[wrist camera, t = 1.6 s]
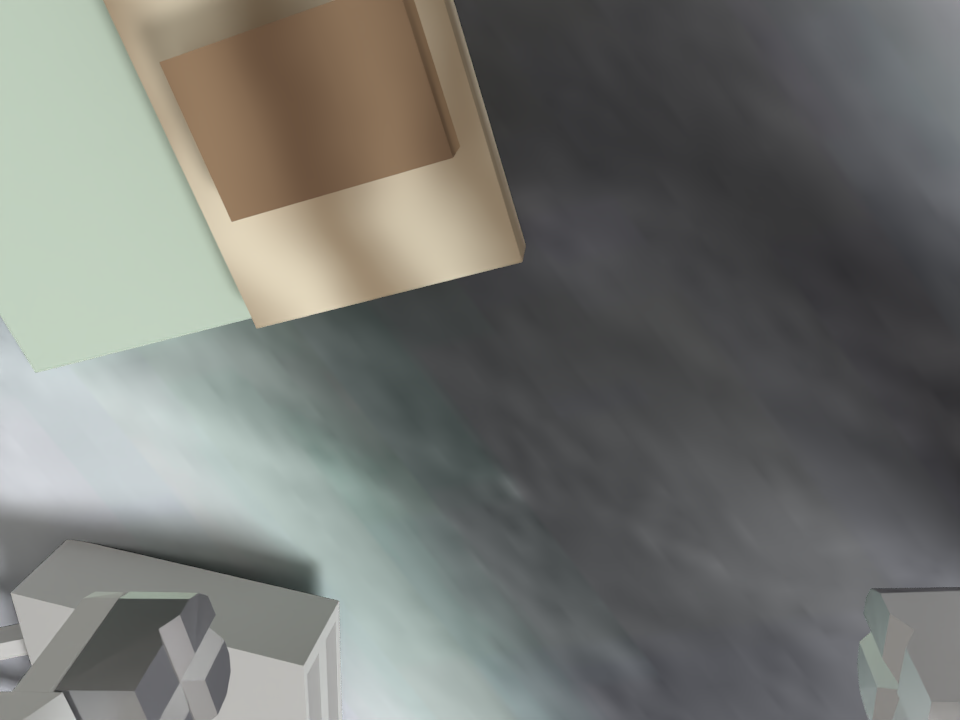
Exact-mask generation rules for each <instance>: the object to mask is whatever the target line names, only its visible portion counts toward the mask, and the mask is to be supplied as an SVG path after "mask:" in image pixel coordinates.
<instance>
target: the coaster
mask: <svg viewBox="0 0 960 720" xmlns="http://www.w3.org/2000/svg"><path fill="white" fill-rule="evenodd" d="M159 63H160V65H161V68H162V70H163V72H164V74H165V76H166V79H167V81H168V83H169V85H170V87H171V90H172V92H173V94H174V96H175V98H176V101H177V103H178V105H179V107H180V109H181V112H182V114H183V116H184V118H185V120H186V123H187V125H188V127H189V129H190V131H191V134H192V136H193V138H194V140H195V142H196V145H197V147H198V149H199V151H200V153H201V156H202V158H203V160H204V162H205V164H206V167H207V169H208V171H209V173H210V175H211V178H212V180H213V182H214V184H215V186H216V189H217V191H218V193H219V195H220V197H221V200H222V202H223V204H224V206H225V208H226V211H227V213H228V215H229V217H230V219H231V222H233V221H237V220H240V219H244V218H247V217H251V216H254V215H258V214H261V213H264V212H268V211H271V210H275V209H278V208H282V207H285V206H289V205H292V204H296V203H299V202H302V201H306V200H309V199H313V198H316V197H320V196H323V195H327V194H330V193H334V192H337V191H340V190H344V189H347V188H351V187H354V186H358V185H361V184H365V183H368V182H372V181H375V180H378V179H382V178H385V177H389V176H392V175H396V174H399V173H403V172H406V171H410V170H413V169H416V168H420V167H423V166H427V165H430V164H434V163H437V162H441V161H444V160H448V159H451V158H453V157H454V156H455V154H456V152H457V151H458V149H459V148H460V144H459V141H458V138H457V135H456V132H455V129H454V125H453V122H452V119H451V116H450V113H449V109H448V106H447V103H446V100H445V97H444V94H443V90H442V87H441V84H440V81H439V78H438V74H437V71H436V68H435V65H434V62H433V59H432V55H431V52H430V49H429V46H428V43H427V39H426V36H425V33H424V30H423V27H422V24H421V20H420V17H419V14H418V11H417V8H416V4H415V1H414V0H334V1H331V2H328V3H325V4H323V5H320V6H317V7H314V8H311V9H308V10H306V11H303V12H300V13H297V14H294V15H291V16H289V17H286V18H283V19H280V20H277V21H274V22H272V23H269V24H266V25H263V26H260V27H257V28H255V29H252V30H249V31H246V32H243V33H241V34H238V35H235V36H232V37H229V38H226V39H224V40H221V41H218V42H215V43H212V44H209V45H207V46H204V47H201V48H198V49H195V50H192V51H190V52H187V53H184V54H181V55H178V56H175V57H173V58H170V59H167V60H164V61H161V62H159Z"/></svg>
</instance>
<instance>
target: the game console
mask: <svg viewBox="0 0 960 720" xmlns="http://www.w3.org/2000/svg"><path fill="white" fill-rule="evenodd" d="M130 591H132V592H181V593H200V594H204V595H207V596H208V597H209V599H210V602H211V604H212V607H213V609H214V612H215V614H216V615H215V617H214V619H213V621H212V623H211V625H210V627H209V628H211V629H212V630H213V631H214V632H216V633H217V634H218V635H219V636H220V637H222V638H223V639H224V640H225V643H226V646H227V649H228V652H229V656H230V668H231V673H230V679H229V684H228V690H227V695H226V697H225V700H224V702H223V704H222V707H221V709H220V711H219V713H218V715H217V716H216V717H215V718H213V719H212V720H342V694H341V656H340V618H339V601H338V600H334V599H329V598H325V597H321V596H316V595H312V594H308V593H303V592H299V591H295V590H290V589H286V588H282V587H278V586H273V585H269V584H265V583H260V582H256V581H252V580H247V579H243V578H239V577H235V576H230V575H226V574H222V573H217V572H213V571H209V570H204V569H200V568H196V567H191V566H187V565H183V564H179V563H174V562H170V561H166V560H161V559H157V558H153V557H148V556H144V555H140V554H136V553H131V552H127V551H123V550H118V549H114V548H110V547H105V546H101V545H97V544H92V543H88V542H83V541H76V540H68V539H67V540H66V541H65V542H64V543H63V544H62V545H61V546H60V547H59V548H57V549H56V550H55V551H54V552H53V553H52V554H51V555H50V556H49V557H48V558H47V559H46V560H45V561H44V562H43V563H41V564H40V565H39V566H38V567H37V568H36V569H35V570H34V571H33V572H32V573H31V574H30V575H29V576H28V577H27V578H26V579H24V580H23V581H22V582H21V583H20V584H19V585H18V586H17V587H16V588H15V589H14V590H13V591H12V592H11V597H12V600H13V604H14V607H15V611H16V614H17V617H18V621H19V624H15V625H10V626H5V627H0V660H5V659H10V658H14V657H19V656H24V655H29V659H30V662H31V666H32V665H33V664H34V662H35V661H36V660H37V658H38V657H39V656H40V654H41V653H42V652H43V650H44V649H45V648H46V646H47V645H48V644H49V643H50V641H51V640H52V639H53V637H54V636H55V635H56V633H57V632H58V631H59V629H60V628H61V627H62V626H63V624H64V623H65V622H66V620H67V619H68V618H69V616H70V615H71V614H72V612H73V611H74V610H75V609H76V607H77V606H78V605H79V603H80V602H81V601H82V599H83V598H85V597H86V596H88V595H90V594H92V593H94V592H130Z"/></svg>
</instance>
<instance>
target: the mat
mask: <svg viewBox="0 0 960 720" xmlns="http://www.w3.org/2000/svg"><path fill="white" fill-rule="evenodd" d="M0 316H1V317H2V319H3V321H4V322H5V324H6V325H7V327H8V329H9V330H10V332H11V334H12V335H13V337H14V339H15V340H16V342H17V343H18V345H19V347H20V348H21V350H22V352H23V353H24V355H25V356H26V358H27V360H28V361H29V363H30V365H31V366H32V368H33V369H34V371H35V373H37V372H41V371H45V370H49V369H53V368H57V367H61V366H65V365H69V364H73V363H77V362H81V361H85V360H89V359H93V358H96V357H100V356H104V355H108V354H112V353H116V352H120V351H124V350H128V349H132V348H136V347H140V346H144V345H148V344H152V343H155V342H159V341H163V340H167V339H171V338H175V337H179V336H183V335H187V334H191V333H195V332H199V331H203V330H207V329H210V328H214V327H218V326H222V325H226V324H230V323H234V322H238V321H242V320H246V319H250V318H252V317H251V315H250V313H249V311H248V309H247V307H246V304H245V302H244V300H243V298H242V296H241V294H240V292H239V290H238V287H237V285H236V283H235V281H234V279H233V277H232V275H231V272H230V270H229V268H228V266H227V264H226V262H225V260H224V257H223V255H222V253H221V251H220V249H219V247H218V245H217V243H216V240H215V238H214V236H213V234H212V232H211V230H210V228H209V225H208V223H207V221H206V219H205V217H204V215H203V213H202V210H201V208H200V206H199V204H198V202H197V200H196V198H195V196H194V193H193V191H192V189H191V187H190V185H189V183H188V181H187V178H186V176H185V174H184V172H183V170H182V168H181V166H180V164H179V161H178V159H177V157H176V155H175V153H174V151H173V149H172V146H171V144H170V142H169V140H168V138H167V136H166V134H165V131H164V129H163V127H162V125H161V123H160V121H159V119H158V117H157V114H156V112H155V110H154V108H153V106H152V104H151V102H150V99H149V97H148V95H147V93H146V91H145V89H144V87H143V84H142V82H141V80H140V78H139V76H138V74H137V72H136V70H135V67H134V65H133V63H132V61H131V59H130V57H129V55H128V52H127V50H126V48H125V46H124V44H123V42H122V40H121V37H120V35H119V33H118V31H117V29H116V27H115V25H114V23H113V20H112V18H111V16H110V14H109V12H108V10H107V8H106V5H105V3H104V1H103V0H0Z"/></svg>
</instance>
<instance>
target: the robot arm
mask: <svg viewBox="0 0 960 720" xmlns="http://www.w3.org/2000/svg"><path fill="white" fill-rule="evenodd" d="M215 615H216V614H215V612H214V609H213V607H212V604H211V602H210V599H209V597H208V596H207V595H204V594H200V593H181V592H132V591H130V592H94V593H92V594H90V595H88V596H86V597H85V598H83V599H82V601H81V602H80V603H79V605H78V606H77V607H76V609H75V610H74V611H73V612H72V614H71V615H70V616H69V618H68V619H67V620H66V622H65V623H64V624H63V626H62V627H61V628H60V629H59V631H58V632H57V633H56V635H55V636H54V637H53V639H52V640H51V641H50V643H49V644H48V645H47V646H46V648H45V649H44V650H43V652H42V653H41V654H40V656H39V657H38V658H37V660H36V661H35V662H34V664H33V665H32V666H31V667H30V669H29V670H28V671H27V673H26V674H25V675H24V677H23V678H22V679H21V681H20V682H19V683H18V684H17V686H16V687H15V688H14V690H13V691H12V692H0V720H212V719H213V718H215V717H216V716H217V715H218V713H219V711H220V709H221V707H222V704H223V702H224V700H225V697H226V695H227V690H228V684H229V679H230V673H231V668H230V656H229V652H228V649H227V646H226V643H225V640H224V639H223V638H222V637H220V636H219V635H218V634H217V633H216V632H214V631H213V630H212V629H211V628H209V627H210V625H211V623H212V621H213V619H214V617H215ZM864 616H865V618H866V621H867V623H868V626H869V628H870V630H871V632H870V633H869V634H868V635H867V636H866V637H865V638H863V639H862V640H861V641H860V642H859V651H858V661H857V667H858V679H859V688H860V692H861V697H862V701H863V705H864V708H865V711H866V714H867V716H868V719H869V720H960V587H930V588H871V589H870V591H869V593H868V595H867V597H866V602H865V608H864Z"/></svg>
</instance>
